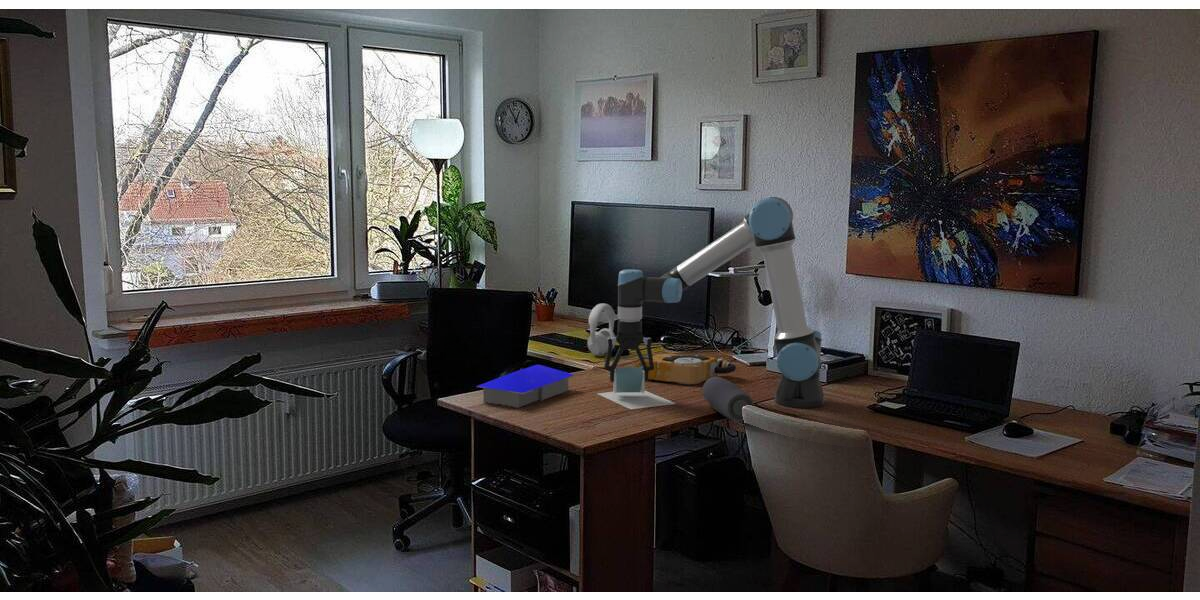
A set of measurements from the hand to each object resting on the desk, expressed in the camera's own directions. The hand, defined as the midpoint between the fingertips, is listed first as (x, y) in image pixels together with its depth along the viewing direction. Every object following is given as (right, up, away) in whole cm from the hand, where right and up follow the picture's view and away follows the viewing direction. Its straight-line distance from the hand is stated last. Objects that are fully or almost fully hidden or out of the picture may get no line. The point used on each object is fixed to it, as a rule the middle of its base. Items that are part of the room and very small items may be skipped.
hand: (628, 391), depth 304 cm
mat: (+2, -3, 0) cm, 4 cm away
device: (+21, +1, +32) cm, 38 cm away
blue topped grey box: (-32, -2, +5) cm, 33 cm away
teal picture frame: (0, +1, +5) cm, 5 cm away
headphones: (-8, +7, +72) cm, 73 cm away
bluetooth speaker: (+28, -6, -17) cm, 34 cm away
